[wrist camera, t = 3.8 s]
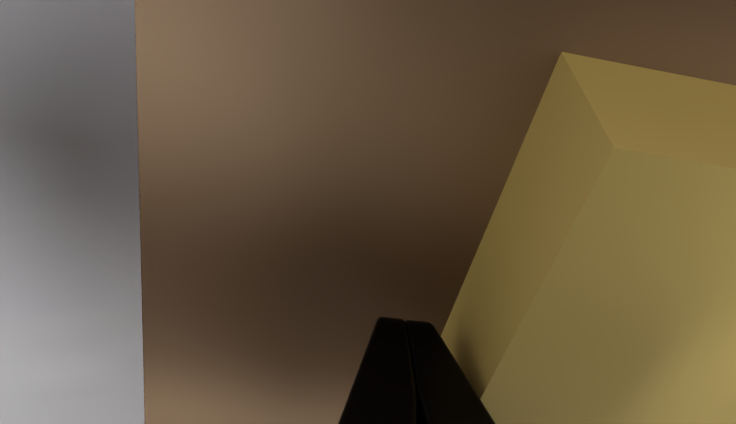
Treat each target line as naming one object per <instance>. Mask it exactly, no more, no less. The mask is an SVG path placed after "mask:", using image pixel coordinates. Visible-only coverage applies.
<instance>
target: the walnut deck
mask: <svg viewBox="0 0 736 424" xmlns="http://www.w3.org/2000/svg"><path fill="white" fill-rule="evenodd" d="M135 32H136V74H137V116H138V157H139V199H140V241H141V283H142V324H143V366H144V408H145V424H338V423H339V420H340V417H341V415H342V412H343V409H344V407H345V404H346V401H347V399H348V396H349V393H350V391H351V388H352V385H353V383H354V380H355V377H356V375H357V372H358V369H359V367H360V364H361V361H362V358H363V356H364V353H365V350H366V348H367V345H368V342H369V340H370V337H371V334H372V332H373V329H374V326H375V324H376V321H377V319H378V318H379V317H389V318H398V319H403V320H404V321H406V320H415V321H424V322H430V323H431V324H433V325H434V326H435V328H436V329H437V331H438V333H439V334H440V336H441V334H442V332H443V330H444V327H445V325H446V323H447V320H448V318H449V316H450V313H451V311H452V308H453V306H454V304H455V301H456V299H457V297H458V294H459V292H460V290H461V287H462V285H463V282H464V280H465V278H466V275H467V273H468V271H469V268H470V266H471V264H472V261H473V259H474V257H475V254H476V252H477V249H478V247H479V245H480V242H481V240H482V238H483V235H484V233H485V231H486V228H487V226H488V224H489V221H490V219H491V216H492V214H493V212H494V209H495V207H496V205H497V202H498V200H499V198H500V195H501V193H502V190H503V188H504V186H505V183H506V181H507V179H508V176H509V174H510V172H511V169H512V167H513V165H514V162H515V160H516V157H517V155H518V153H519V150H520V148H521V146H522V143H523V141H524V139H525V136H526V134H527V131H528V129H529V127H530V124H531V122H532V120H533V117H534V115H535V113H536V110H537V108H538V106H539V103H540V101H541V98H542V96H543V94H544V91H545V89H546V87H547V84H548V82H549V80H550V77H551V75H552V73H553V70H554V68H555V65H556V63H557V61H558V58H559V56H560V54H561V52H566V53H571V54H576V55H581V56H586V57H591V58H596V59H602V60H607V61H612V62H617V63H622V64H627V65H633V66H638V67H643V68H648V69H653V70H658V71H664V72H669V73H674V74H679V75H684V76H689V77H695V78H700V79H705V80H710V81H715V82H720V83H726V84H731V85H736V0H135Z"/></svg>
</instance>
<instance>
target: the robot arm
mask: <svg viewBox="0 0 736 424" xmlns="http://www.w3.org/2000/svg"><path fill="white" fill-rule="evenodd" d="M338 424H496V423H495V422H494V420H493V419H492V417H491V416H490V414H489V412H488V411H487V409H486V408H485V406H484V404H483V403H482V401H481V400H480V398H479V396H478V395H477V393H476V392H475V390H474V388H473V387H472V385H471V384H470V382H469V380H468V379H467V377H466V376H465V374H464V372H463V371H462V369H461V368H460V366H459V364H458V363H457V361H456V360H455V358H454V356H453V355H452V353H451V352H450V350H449V348H448V347H447V345H446V344H445V342H444V340H443V339H442V337H441V336H440V334H439V333H438V331H437V329H436V328H435V326H434V325H433V324H431V323H430V322H424V321H415V320H406V321H404V320H403V319H398V318H389V317H379V318H378V319H377V321H376V324H375V326H374V329H373V332H372V334H371V337H370V340H369V342H368V345H367V348H366V350H365V353H364V356H363V358H362V361H361V364H360V367H359V369H358V372H357V375H356V377H355V380H354V383H353V385H352V388H351V391H350V393H349V396H348V399H347V401H346V404H345V407H344V409H343V412H342V415H341V417H340V420H339V423H338Z"/></svg>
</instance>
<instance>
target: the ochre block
mask: <svg viewBox="0 0 736 424" xmlns="http://www.w3.org/2000/svg"><path fill="white" fill-rule="evenodd" d="M441 337H442V339H443V340H444V342H445V344H446V345H447V347H448V348H449V350H450V352H451V353H452V355H453V356H454V358H455V360H456V361H457V363H458V364H459V366H460V368H461V369H462V371H463V372H464V374H465V376H466V377H467V379H468V380H469V382H470V384H471V385H472V387H473V388H474V390H475V392H476V393H477V395H478V396H479V398H480V400H481V401H482V403H483V404H484V406H485V408H486V409H487V411H488V412H489V414H490V416H491V417H492V419H493V420H494V422H495V423H496V424H736V85H731V84H726V83H720V82H715V81H710V80H705V79H700V78H695V77H689V76H684V75H679V74H674V73H669V72H664V71H658V70H653V69H648V68H643V67H638V66H633V65H627V64H622V63H617V62H612V61H607V60H602V59H596V58H591V57H586V56H581V55H576V54H571V53H566V52H561V54H560V56H559V58H558V61H557V63H556V65H555V68H554V70H553V73H552V75H551V77H550V80H549V82H548V84H547V87H546V89H545V91H544V94H543V96H542V98H541V101H540V103H539V106H538V108H537V110H536V113H535V115H534V117H533V120H532V122H531V124H530V127H529V129H528V131H527V134H526V136H525V139H524V141H523V143H522V146H521V148H520V150H519V153H518V155H517V157H516V160H515V162H514V165H513V167H512V169H511V172H510V174H509V176H508V179H507V181H506V183H505V186H504V188H503V190H502V193H501V195H500V198H499V200H498V202H497V205H496V207H495V209H494V212H493V214H492V216H491V219H490V221H489V224H488V226H487V228H486V231H485V233H484V235H483V238H482V240H481V242H480V245H479V247H478V249H477V252H476V254H475V257H474V259H473V261H472V264H471V266H470V268H469V271H468V273H467V275H466V278H465V280H464V282H463V285H462V287H461V290H460V292H459V294H458V297H457V299H456V301H455V304H454V306H453V308H452V311H451V313H450V316H449V318H448V320H447V323H446V325H445V327H444V330H443V332H442V334H441Z"/></svg>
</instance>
